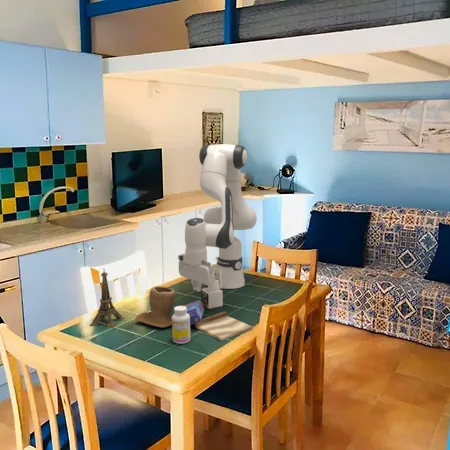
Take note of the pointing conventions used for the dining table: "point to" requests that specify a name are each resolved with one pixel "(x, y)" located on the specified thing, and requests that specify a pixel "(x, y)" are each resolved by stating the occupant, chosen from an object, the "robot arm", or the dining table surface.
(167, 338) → the dining table surface
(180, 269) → the robot arm
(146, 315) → the brown boot planter
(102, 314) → the eiffel tower
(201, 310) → the ink cartridge box
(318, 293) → the dining table surface
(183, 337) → the supplement bottle
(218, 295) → the medicine bottle
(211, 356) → the dining table surface
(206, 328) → the oak board
